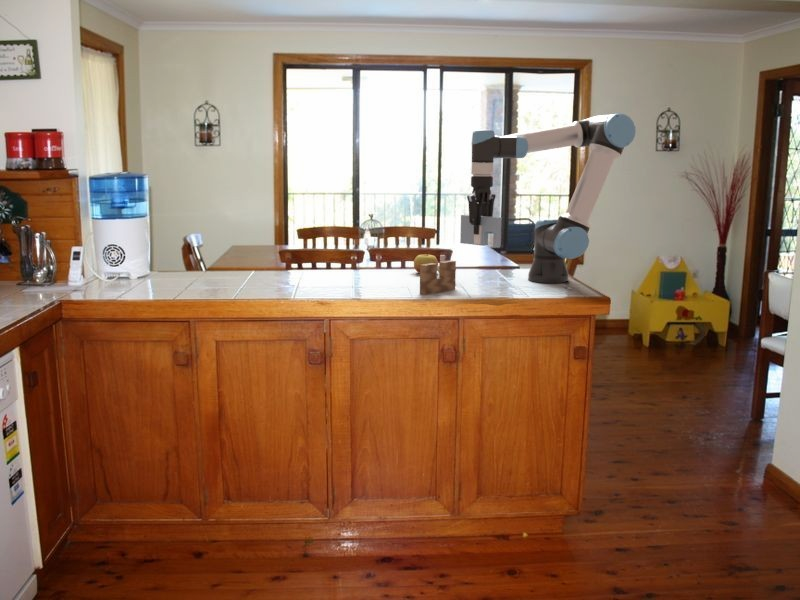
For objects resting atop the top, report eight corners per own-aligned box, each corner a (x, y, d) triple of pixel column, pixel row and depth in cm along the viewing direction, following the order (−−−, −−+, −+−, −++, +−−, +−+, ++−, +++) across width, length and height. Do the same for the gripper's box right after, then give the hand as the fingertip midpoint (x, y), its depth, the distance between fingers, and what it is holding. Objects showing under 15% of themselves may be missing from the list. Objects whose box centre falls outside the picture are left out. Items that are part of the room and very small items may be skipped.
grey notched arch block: (460, 243, 271) (460, 215, 269) (464, 242, 272) (465, 214, 271) (496, 247, 260) (497, 217, 258) (500, 246, 262) (501, 217, 260)
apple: (438, 275, 299) (438, 255, 298) (413, 275, 299) (413, 254, 298) (437, 271, 309) (437, 252, 307) (413, 271, 309) (413, 251, 308)
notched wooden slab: (449, 288, 270) (450, 260, 269) (455, 289, 269) (455, 261, 267) (419, 293, 259) (420, 264, 257) (424, 294, 257) (425, 265, 256)
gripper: (487, 174, 270) (485, 240, 274) (459, 175, 259) (457, 244, 263) (504, 175, 265) (502, 242, 269) (476, 176, 254) (474, 246, 258)
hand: (480, 243), depth 266 cm, fingers closed on grey notched arch block, 2 cm apart
